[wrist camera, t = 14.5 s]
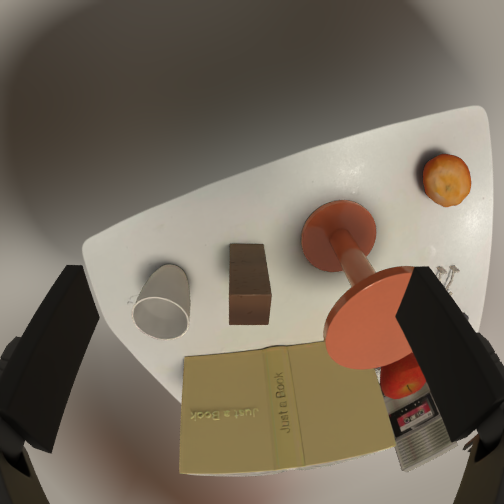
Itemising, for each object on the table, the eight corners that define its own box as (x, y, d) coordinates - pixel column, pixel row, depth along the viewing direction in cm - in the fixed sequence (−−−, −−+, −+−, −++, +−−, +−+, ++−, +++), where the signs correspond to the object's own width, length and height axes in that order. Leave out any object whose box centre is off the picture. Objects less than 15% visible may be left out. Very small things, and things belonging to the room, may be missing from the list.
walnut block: (229, 243, 46) (229, 294, 36) (263, 243, 47) (271, 294, 36) (229, 271, 49) (229, 325, 39) (261, 271, 49) (268, 325, 39)
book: (364, 332, 58) (398, 444, 39) (358, 352, 63) (386, 454, 44) (183, 353, 59) (176, 472, 40) (192, 371, 63) (189, 478, 45)
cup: (156, 299, 51) (144, 342, 43) (140, 260, 47) (122, 300, 39) (201, 293, 51) (196, 337, 42) (188, 252, 47) (179, 293, 38)
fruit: (467, 188, 41) (474, 212, 36) (425, 189, 46) (425, 214, 40) (464, 142, 37) (472, 161, 32) (418, 145, 42) (419, 163, 36)
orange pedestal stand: (299, 190, 43) (342, 273, 25) (388, 196, 43) (462, 271, 26) (289, 273, 50) (314, 374, 33) (368, 273, 51) (417, 362, 34)
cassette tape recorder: (419, 360, 66) (456, 441, 45) (424, 368, 69) (458, 445, 47) (372, 387, 70) (400, 470, 49) (380, 394, 73) (406, 472, 51)
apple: (399, 328, 59) (421, 371, 49) (421, 344, 63) (441, 382, 52) (361, 359, 63) (377, 403, 53) (386, 371, 67) (401, 410, 57)
